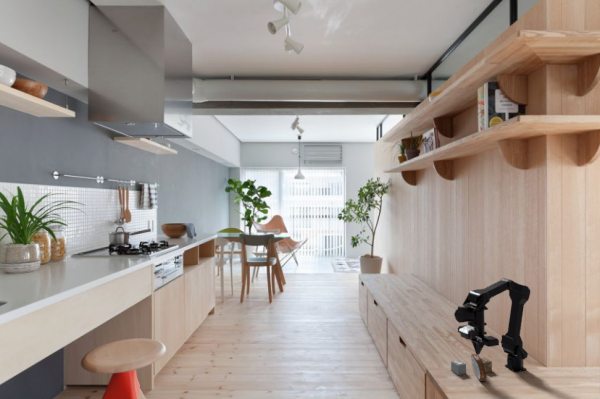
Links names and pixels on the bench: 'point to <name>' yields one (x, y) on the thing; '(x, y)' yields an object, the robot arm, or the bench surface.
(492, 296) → the robot arm
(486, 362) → the walnut number block
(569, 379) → the bench surface
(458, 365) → the slate number block
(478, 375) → the tin
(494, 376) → the bench surface
